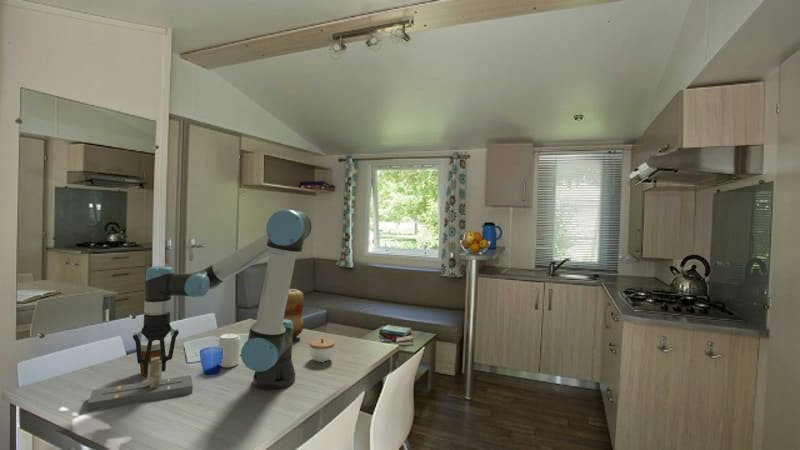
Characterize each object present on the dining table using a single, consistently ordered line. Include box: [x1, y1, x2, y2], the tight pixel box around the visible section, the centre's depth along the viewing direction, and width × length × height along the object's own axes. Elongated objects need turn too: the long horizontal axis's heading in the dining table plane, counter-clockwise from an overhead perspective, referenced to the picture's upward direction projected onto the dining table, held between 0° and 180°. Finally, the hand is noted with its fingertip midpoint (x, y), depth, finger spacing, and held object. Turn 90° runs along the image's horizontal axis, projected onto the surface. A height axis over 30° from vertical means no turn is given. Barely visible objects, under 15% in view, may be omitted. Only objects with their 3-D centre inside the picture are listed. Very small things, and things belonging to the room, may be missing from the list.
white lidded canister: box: [218, 332, 241, 368], centre depth 155 cm, size 8×8×12 cm
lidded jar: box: [309, 338, 335, 363], centre depth 165 cm, size 11×11×9 cm
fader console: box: [86, 374, 193, 412], centre depth 126 cm, size 28×10×3 cm, turn 122°
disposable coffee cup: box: [139, 338, 168, 377], centre depth 144 cm, size 10×10×12 cm
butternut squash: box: [284, 288, 305, 340], centre depth 193 cm, size 14×13×25 cm
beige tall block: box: [150, 357, 160, 389], centre depth 127 cm, size 2×4×9 cm, turn 32°
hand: (154, 381), depth 127 cm, fingers closed on beige tall block, 2 cm apart
